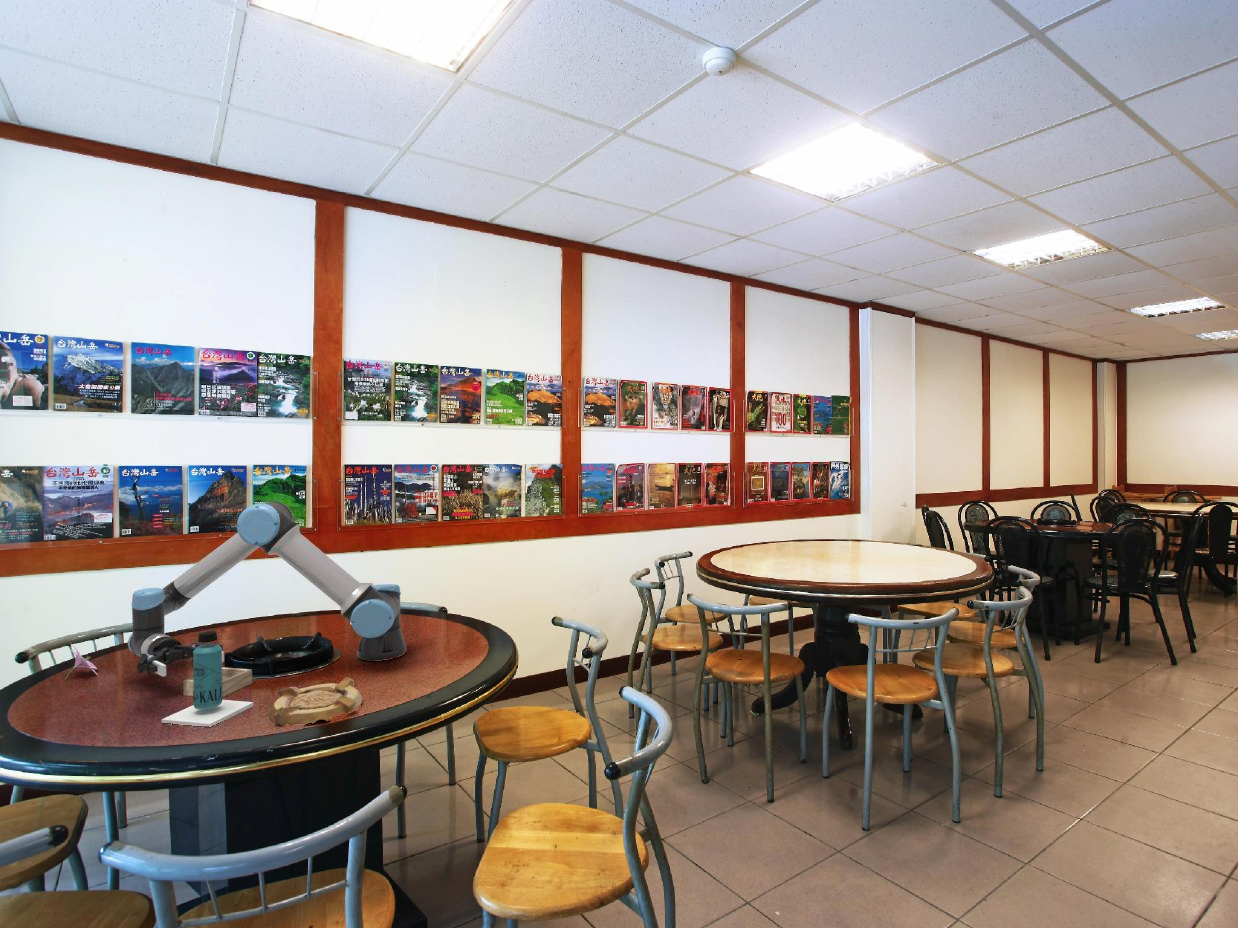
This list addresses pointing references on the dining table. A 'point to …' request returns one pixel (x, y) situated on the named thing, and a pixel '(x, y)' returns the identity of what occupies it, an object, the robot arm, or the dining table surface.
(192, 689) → the wooden tray
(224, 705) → the rubber mat
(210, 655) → the beverage bottle
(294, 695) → the ashtray
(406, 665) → the dining table surface
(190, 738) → the dining table surface
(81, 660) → the lily
